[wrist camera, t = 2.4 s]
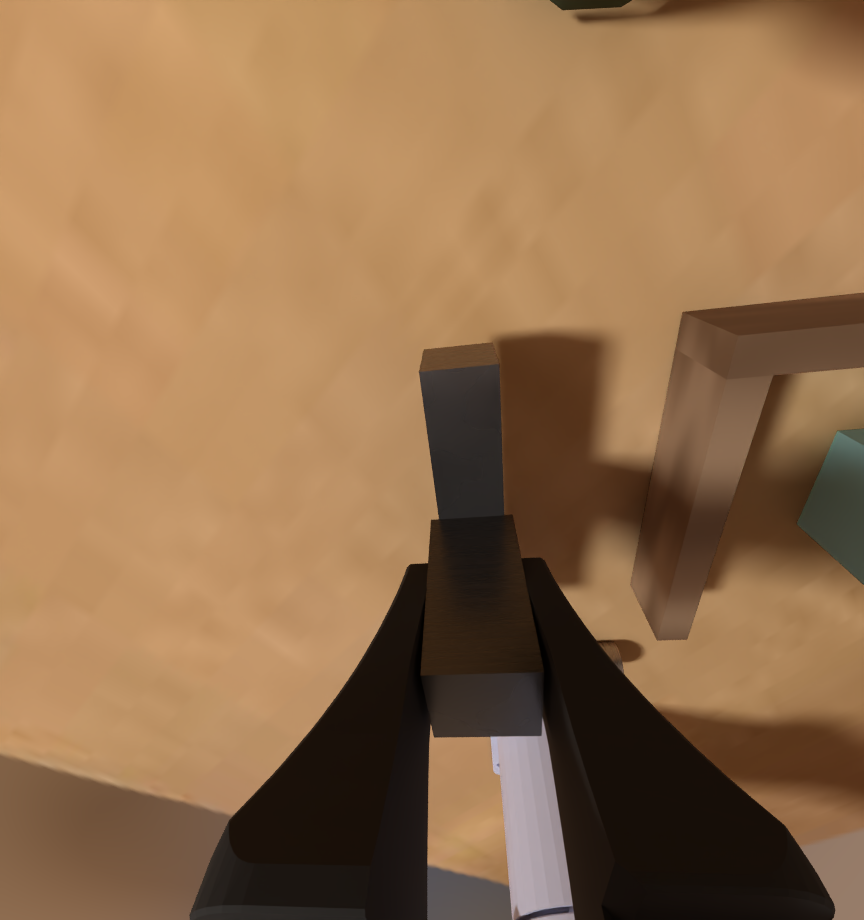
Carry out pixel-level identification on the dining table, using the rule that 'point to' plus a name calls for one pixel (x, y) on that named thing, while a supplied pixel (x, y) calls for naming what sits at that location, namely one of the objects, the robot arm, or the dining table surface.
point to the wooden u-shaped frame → (723, 433)
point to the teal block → (839, 503)
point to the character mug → (588, 4)
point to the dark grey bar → (474, 561)
